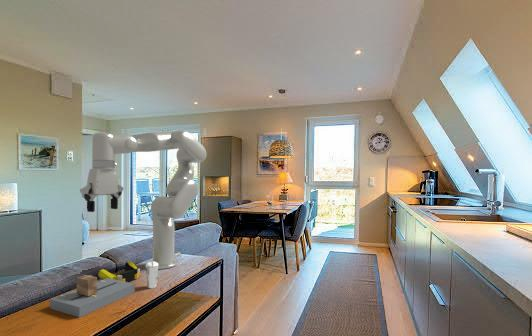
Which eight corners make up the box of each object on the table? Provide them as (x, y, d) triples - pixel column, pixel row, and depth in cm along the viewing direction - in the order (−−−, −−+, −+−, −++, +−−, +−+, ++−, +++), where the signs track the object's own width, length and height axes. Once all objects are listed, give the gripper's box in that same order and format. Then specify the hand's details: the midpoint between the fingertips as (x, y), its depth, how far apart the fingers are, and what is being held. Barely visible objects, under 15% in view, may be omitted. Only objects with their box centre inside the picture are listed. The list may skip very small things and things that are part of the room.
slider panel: (107, 286, 109) (107, 277, 109) (134, 292, 104) (134, 283, 104) (49, 308, 91) (50, 298, 91) (79, 317, 85) (79, 306, 85)
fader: (85, 289, 97) (85, 274, 97) (97, 292, 95) (97, 276, 95) (76, 293, 94) (76, 277, 94) (87, 296, 92) (88, 280, 92)
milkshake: (145, 290, 105) (145, 262, 105) (145, 285, 110) (145, 258, 110) (158, 288, 107) (159, 261, 107) (158, 283, 112) (158, 257, 112)
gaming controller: (95, 284, 111) (113, 289, 107) (95, 270, 111) (113, 274, 107) (129, 272, 125) (146, 276, 120) (129, 259, 125) (146, 263, 120)
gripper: (116, 166, 121) (115, 207, 120) (74, 164, 105) (73, 212, 105) (129, 165, 118) (128, 208, 117) (88, 164, 102) (87, 213, 102)
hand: (102, 210), depth 111 cm, fingers open, 9 cm apart
